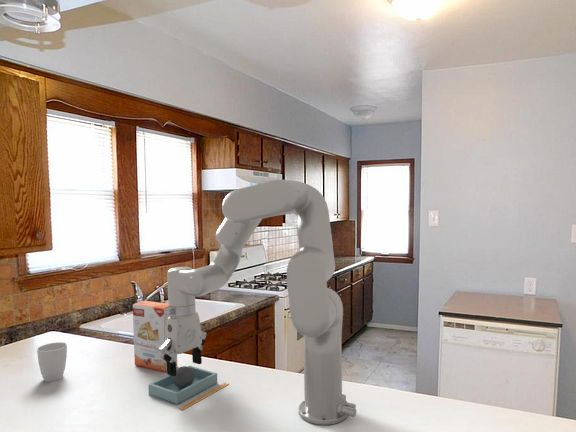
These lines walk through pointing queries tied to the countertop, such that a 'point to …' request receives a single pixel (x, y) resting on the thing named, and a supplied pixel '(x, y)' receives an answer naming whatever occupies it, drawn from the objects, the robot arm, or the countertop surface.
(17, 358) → the countertop surface
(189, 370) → the ball
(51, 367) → the cup
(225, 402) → the countertop surface
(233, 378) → the countertop surface
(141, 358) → the cracker box
